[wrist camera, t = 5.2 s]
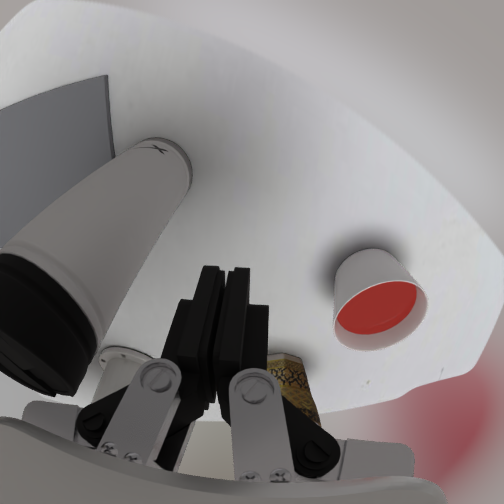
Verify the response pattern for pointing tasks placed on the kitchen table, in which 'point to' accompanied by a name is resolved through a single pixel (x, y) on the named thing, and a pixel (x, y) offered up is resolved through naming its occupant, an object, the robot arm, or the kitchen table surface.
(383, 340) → the candle
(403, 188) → the kitchen table surface
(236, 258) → the kitchen table surface
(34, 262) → the travel mug
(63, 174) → the mat
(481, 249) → the kitchen table surface
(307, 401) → the ceramic cup
